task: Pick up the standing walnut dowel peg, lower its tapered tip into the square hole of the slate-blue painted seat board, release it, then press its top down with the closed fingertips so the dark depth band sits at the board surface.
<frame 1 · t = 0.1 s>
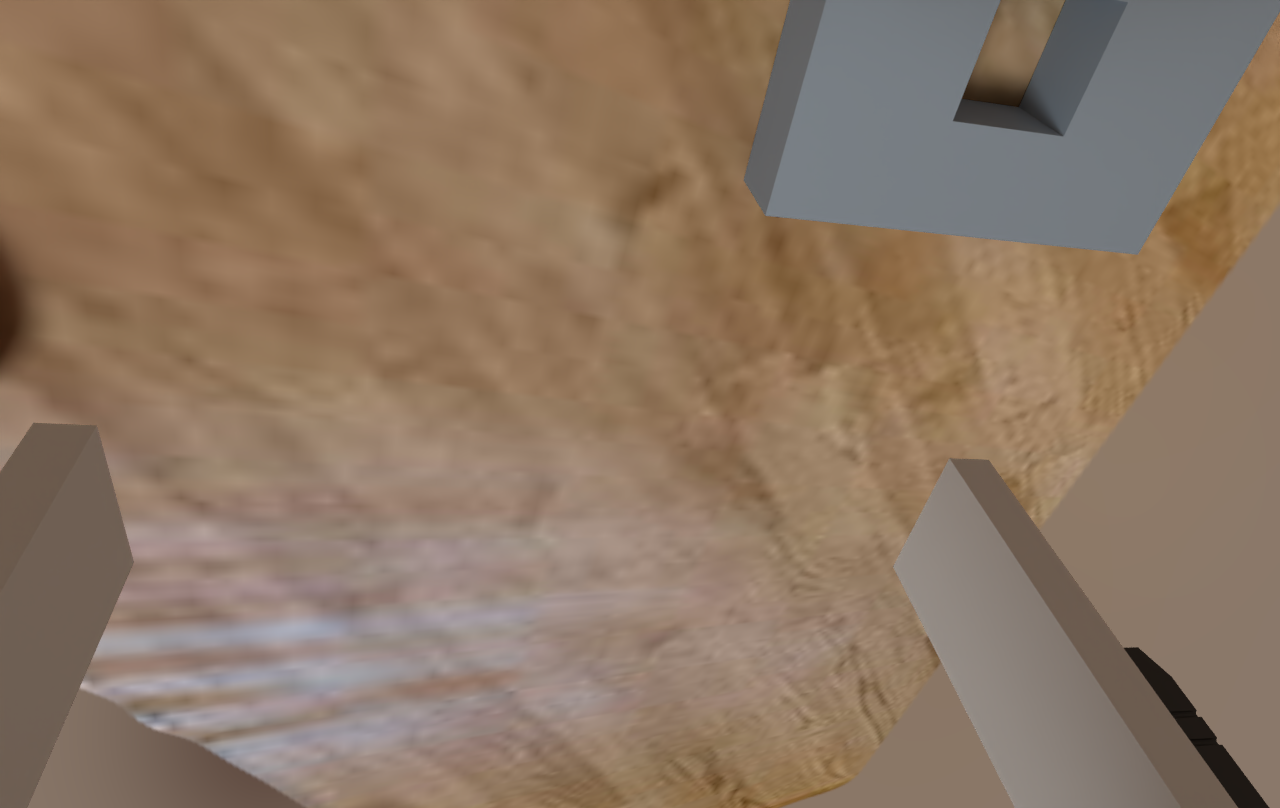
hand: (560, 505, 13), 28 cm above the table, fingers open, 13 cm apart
seat board: (992, 38, 38), on the table
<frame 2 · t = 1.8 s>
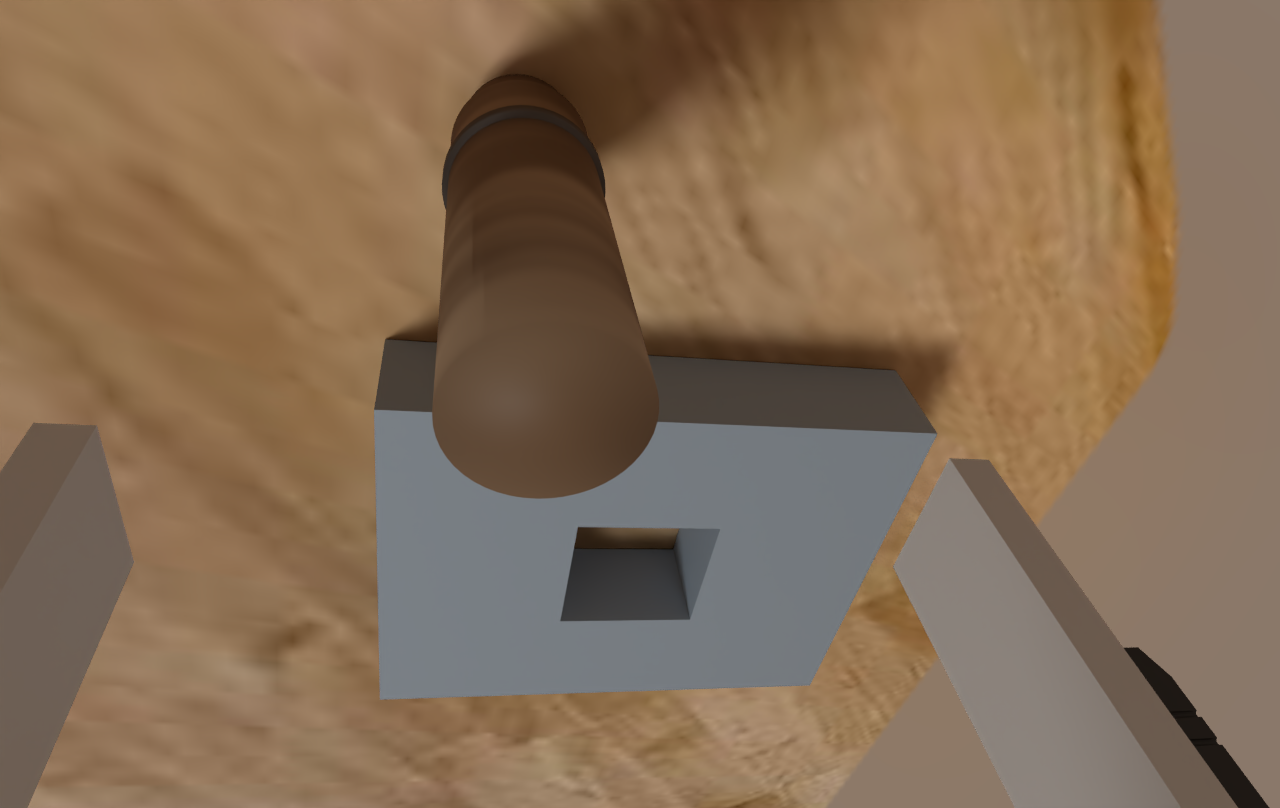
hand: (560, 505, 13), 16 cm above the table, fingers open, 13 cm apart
seat board: (624, 505, 36), on the table
peg: (518, 131, 26), on the table
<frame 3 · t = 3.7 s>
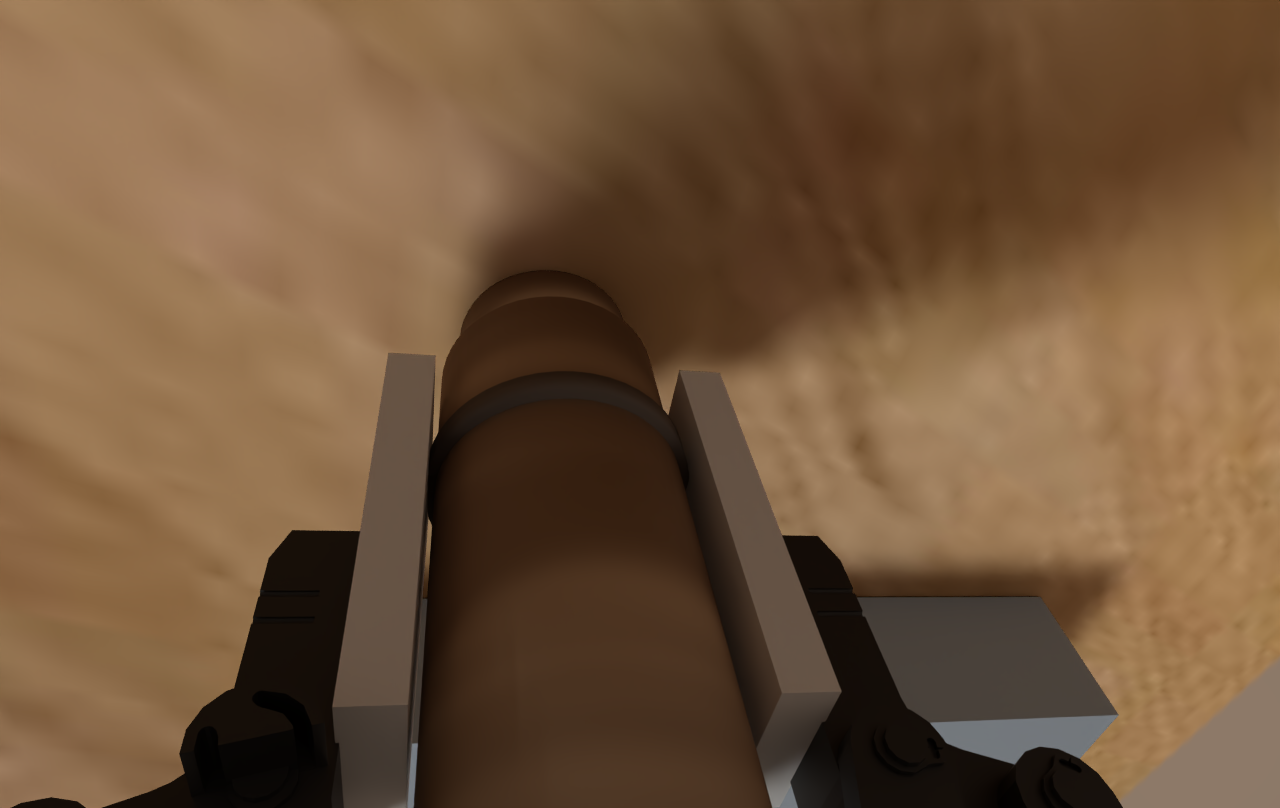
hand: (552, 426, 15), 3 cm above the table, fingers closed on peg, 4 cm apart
seat board: (672, 754, 28), on the table
peg: (544, 343, 17), on the table, touching gripper
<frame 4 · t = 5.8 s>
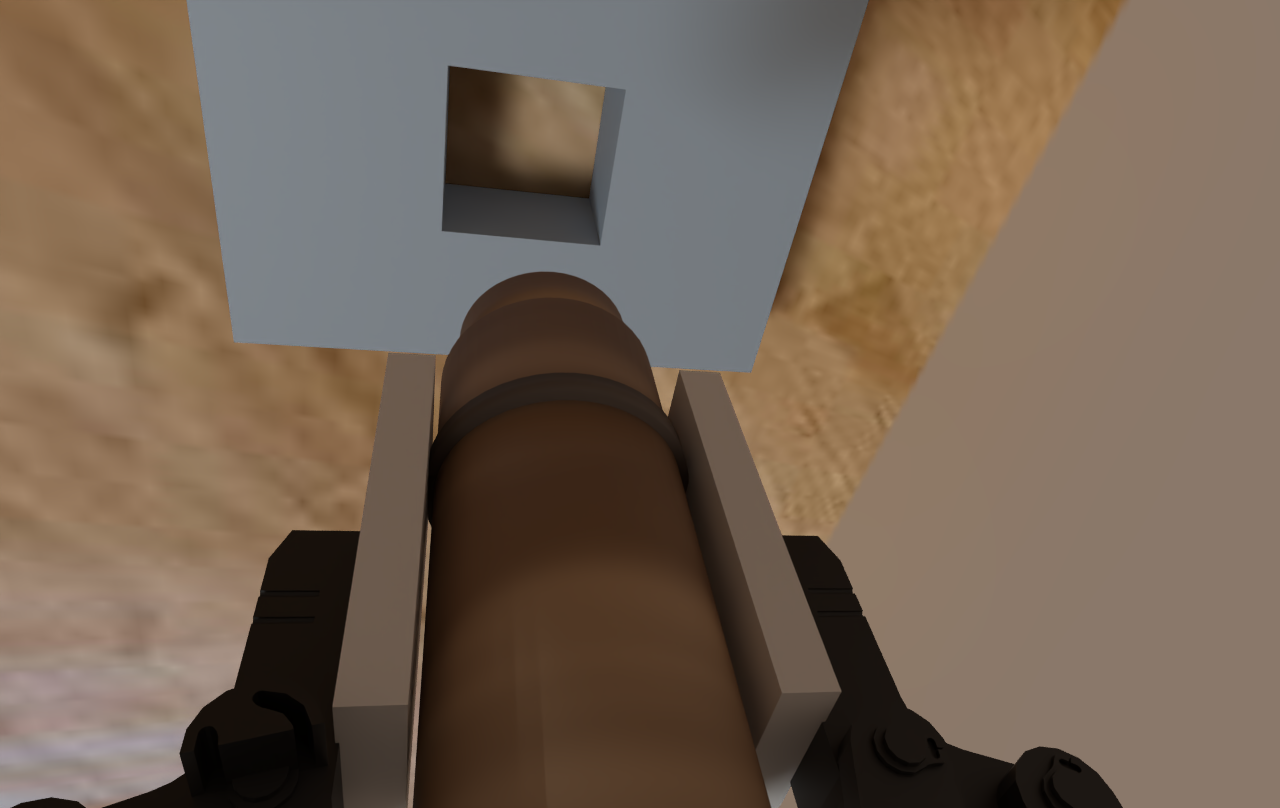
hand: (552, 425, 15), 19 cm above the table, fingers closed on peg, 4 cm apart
seat board: (525, 120, 31), on the table
peg: (543, 344, 17), point 17 cm above the table, touching gripper
when the fingers open (5 cm above the table, at t = 8.1 s): peg drops 3 cm, resting in seat board.
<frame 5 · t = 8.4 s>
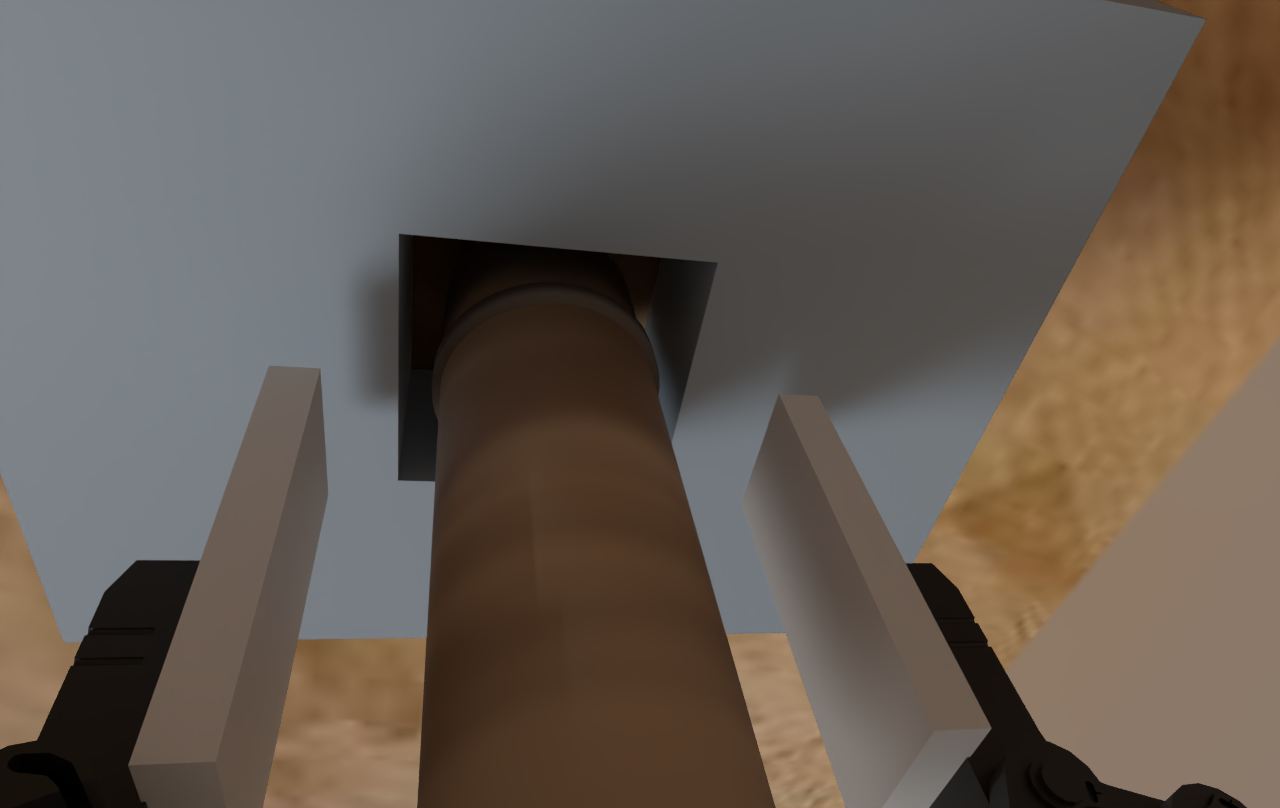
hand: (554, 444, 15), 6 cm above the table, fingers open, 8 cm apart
seat board: (537, 277, 19), on the table
peg: (534, 277, 19), resting in seat board
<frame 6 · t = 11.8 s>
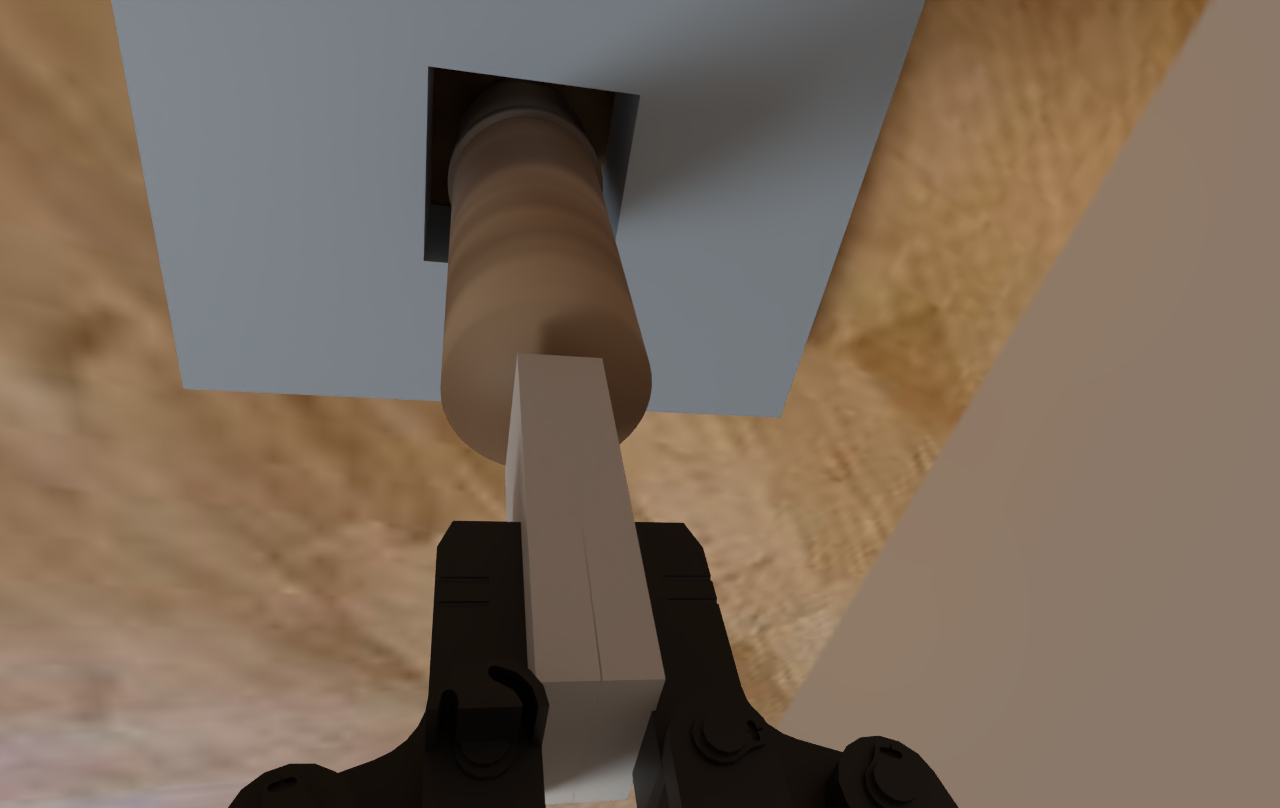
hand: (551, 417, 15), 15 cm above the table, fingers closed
seat board: (522, 131, 27), on the table
peg: (520, 131, 27), resting in seat board
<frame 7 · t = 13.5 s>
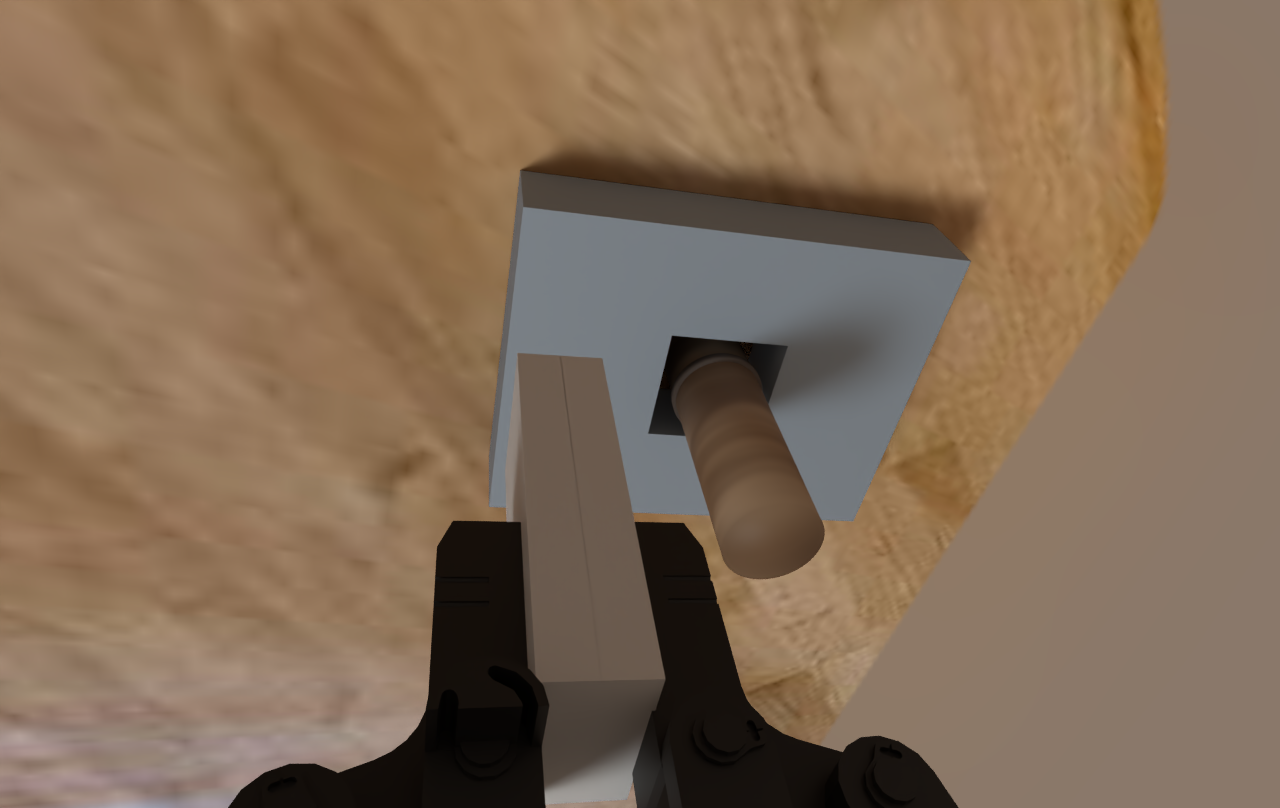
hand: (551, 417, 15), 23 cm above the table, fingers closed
seat board: (699, 346, 43), on the table
peg: (698, 346, 43), resting in seat board
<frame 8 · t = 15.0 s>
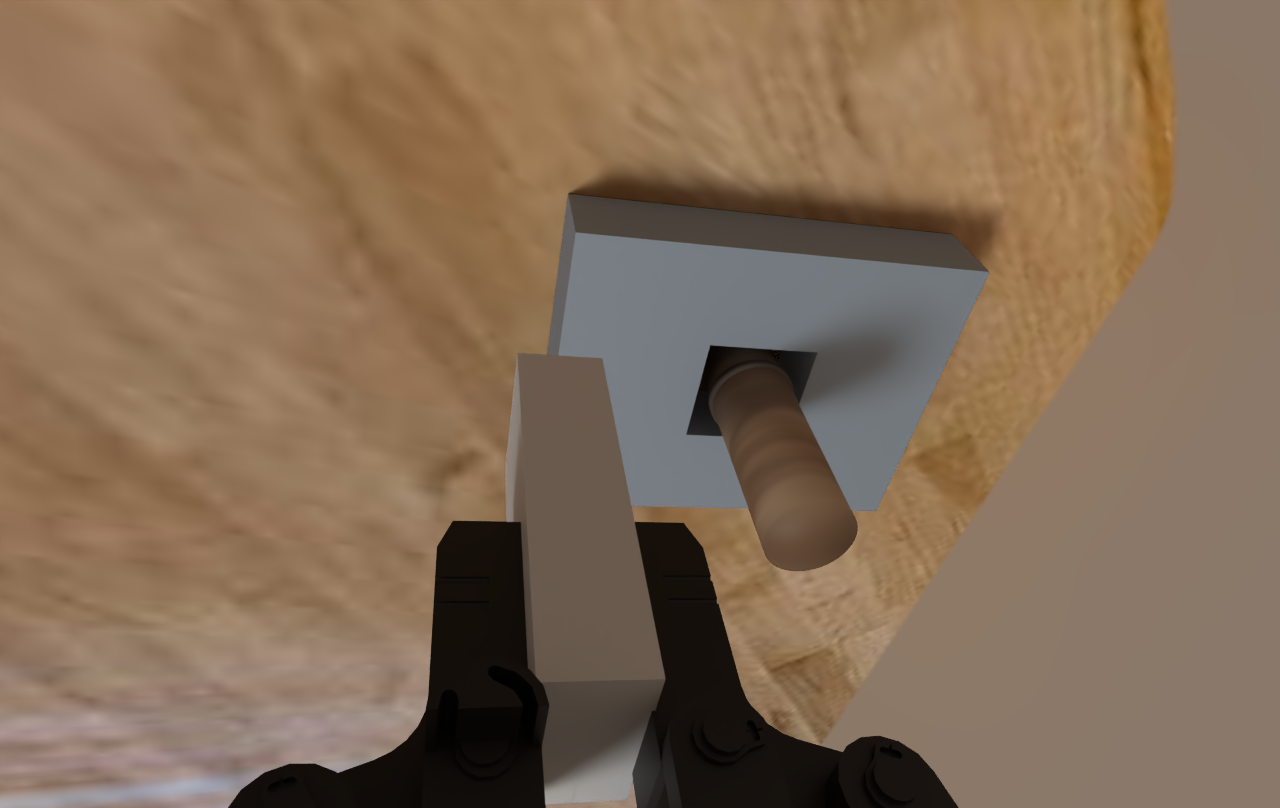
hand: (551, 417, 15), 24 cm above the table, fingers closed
seat board: (732, 350, 45), on the table
peg: (730, 350, 45), resting in seat board
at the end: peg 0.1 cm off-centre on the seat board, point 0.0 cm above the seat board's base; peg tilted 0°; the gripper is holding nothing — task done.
